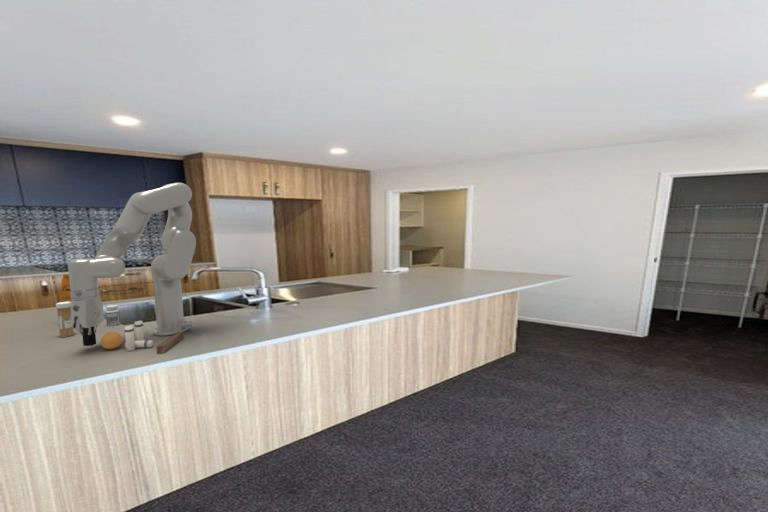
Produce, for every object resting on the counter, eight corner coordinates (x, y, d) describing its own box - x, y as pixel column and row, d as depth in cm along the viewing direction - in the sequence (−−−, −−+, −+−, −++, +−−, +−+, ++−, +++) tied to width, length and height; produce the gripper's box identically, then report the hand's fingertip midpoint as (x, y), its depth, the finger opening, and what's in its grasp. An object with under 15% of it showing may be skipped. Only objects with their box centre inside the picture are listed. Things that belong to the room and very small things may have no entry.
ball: (110, 328, 129) (108, 344, 130) (97, 333, 124) (95, 350, 124) (126, 331, 130) (125, 347, 130) (115, 335, 124) (113, 352, 124)
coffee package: (72, 319, 167) (68, 272, 165) (101, 318, 168) (97, 271, 166) (56, 325, 157) (51, 275, 155) (87, 324, 158) (82, 274, 156)
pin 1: (136, 348, 127) (135, 325, 126) (132, 351, 125) (130, 327, 124) (129, 348, 127) (127, 325, 126) (124, 351, 124) (122, 327, 123)
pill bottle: (111, 323, 159) (109, 304, 159) (122, 322, 160) (121, 304, 159) (104, 326, 155) (102, 307, 154) (115, 326, 155) (114, 307, 154)
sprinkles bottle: (73, 336, 142) (70, 302, 140) (58, 338, 139) (54, 304, 138) (75, 333, 146) (72, 300, 144) (60, 335, 143) (57, 302, 142)
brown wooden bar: (183, 338, 138) (183, 331, 138) (163, 353, 122) (162, 346, 122) (178, 338, 138) (177, 331, 138) (157, 353, 122) (156, 346, 122)
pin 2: (146, 342, 133) (144, 320, 132) (142, 345, 130) (140, 322, 130) (138, 343, 133) (136, 320, 132) (134, 345, 130) (132, 322, 129)
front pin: (130, 345, 130) (154, 344, 130) (125, 349, 127) (150, 348, 127) (128, 339, 129) (152, 338, 129) (123, 343, 126) (148, 342, 126)
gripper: (81, 298, 118) (86, 352, 120) (110, 289, 133) (114, 337, 135) (56, 299, 117) (62, 353, 119) (88, 290, 132) (92, 338, 134)
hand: (89, 344), depth 127 cm, fingers closed
